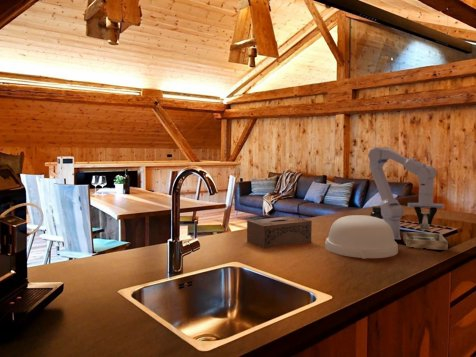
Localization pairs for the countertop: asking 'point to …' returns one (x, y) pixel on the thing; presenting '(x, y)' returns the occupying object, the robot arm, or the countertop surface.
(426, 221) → the steel peg
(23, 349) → the countertop surface
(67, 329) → the countertop surface
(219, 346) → the countertop surface
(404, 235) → the peg box
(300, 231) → the tissue box cover
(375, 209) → the supplement bottle
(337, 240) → the dome cover
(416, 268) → the countertop surface
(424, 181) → the robot arm
